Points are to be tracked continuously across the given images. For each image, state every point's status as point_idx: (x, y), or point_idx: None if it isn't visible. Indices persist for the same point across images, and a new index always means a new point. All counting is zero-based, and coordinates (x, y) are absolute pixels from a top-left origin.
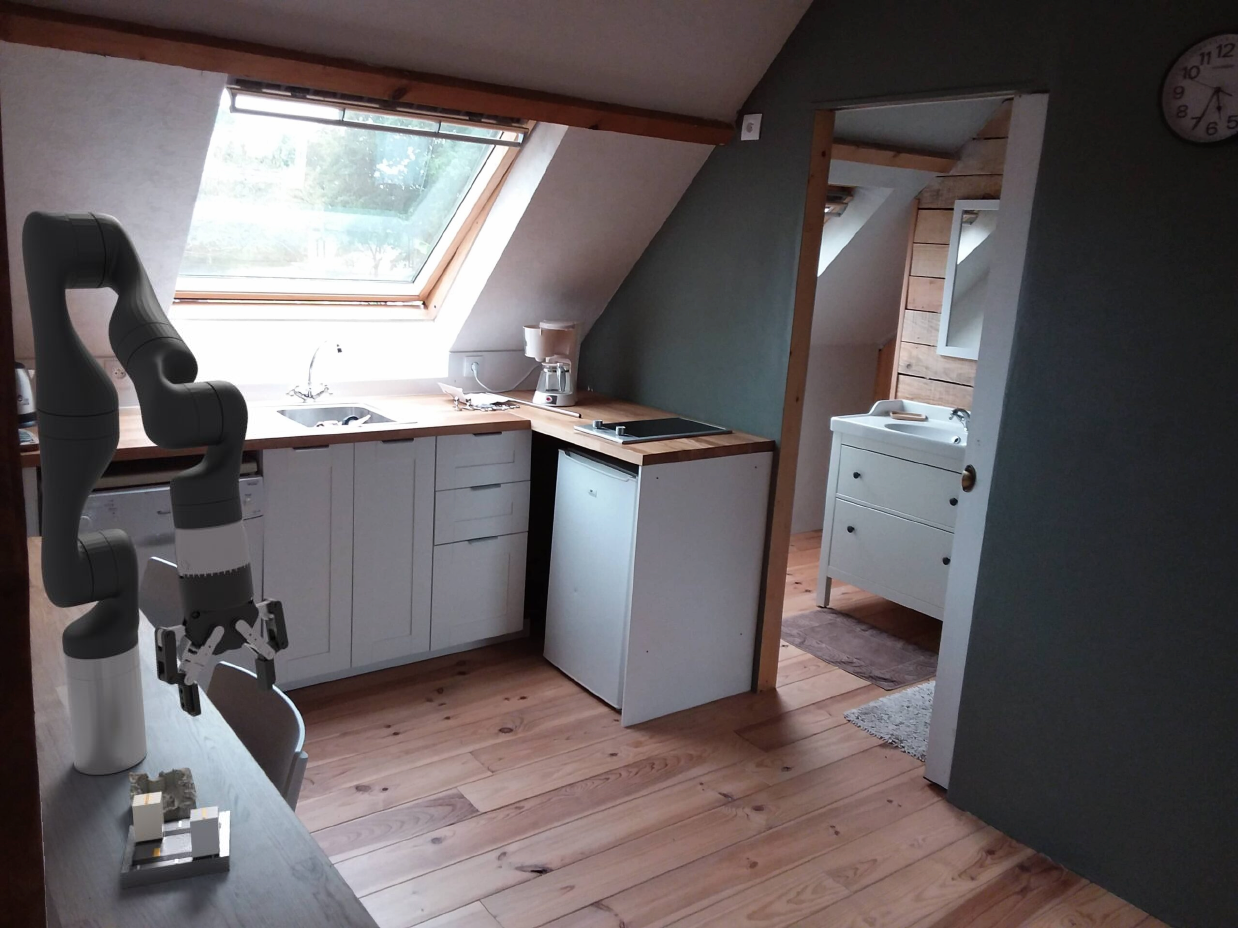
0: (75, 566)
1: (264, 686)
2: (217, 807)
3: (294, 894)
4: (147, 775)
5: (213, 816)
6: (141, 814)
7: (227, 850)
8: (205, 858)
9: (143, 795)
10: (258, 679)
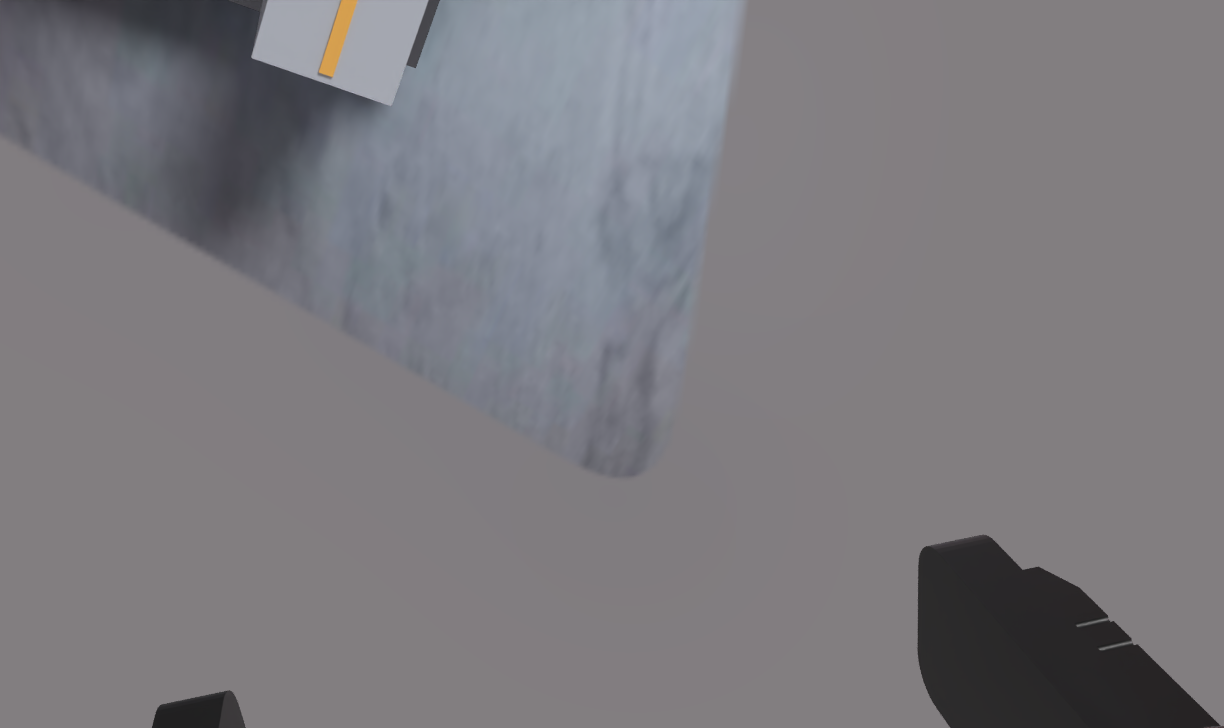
0: None
1: (940, 666)
2: (420, 11)
3: (553, 319)
4: None
5: (374, 86)
6: None
7: (422, 26)
8: None
9: None
10: (966, 611)
